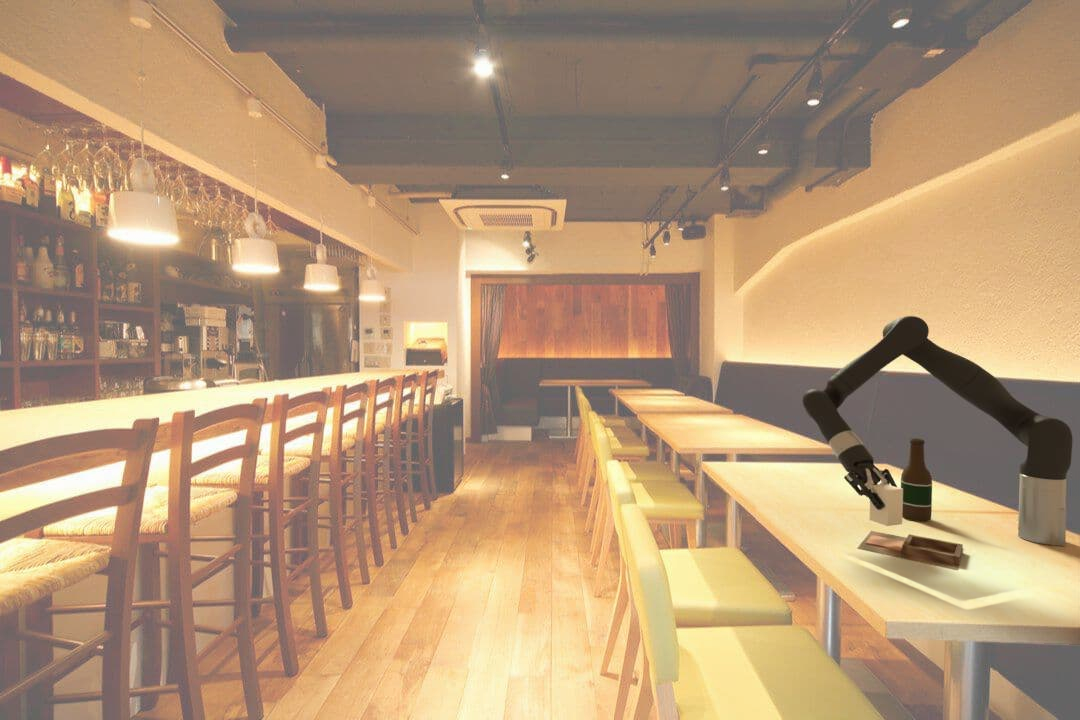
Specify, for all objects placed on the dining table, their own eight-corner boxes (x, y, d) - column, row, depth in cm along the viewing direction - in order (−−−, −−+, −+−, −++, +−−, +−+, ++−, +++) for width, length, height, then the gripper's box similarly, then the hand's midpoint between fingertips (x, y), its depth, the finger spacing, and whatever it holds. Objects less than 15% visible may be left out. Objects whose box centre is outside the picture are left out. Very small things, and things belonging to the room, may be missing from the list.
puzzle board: (963, 553, 137) (963, 540, 136) (957, 575, 123) (958, 561, 123) (871, 535, 150) (871, 523, 150) (856, 553, 136) (857, 540, 136)
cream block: (883, 518, 143) (884, 484, 143) (902, 524, 138) (903, 488, 138) (869, 519, 141) (870, 485, 141) (887, 526, 137) (888, 490, 136)
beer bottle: (930, 523, 160) (932, 442, 160) (899, 518, 165) (900, 439, 164) (931, 517, 166) (933, 438, 166) (901, 512, 171) (902, 436, 170)
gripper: (838, 444, 145) (879, 502, 134) (879, 442, 149) (921, 497, 138) (822, 460, 150) (859, 517, 139) (861, 457, 155) (900, 512, 143)
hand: (889, 507), depth 139 cm, fingers closed on cream block, 5 cm apart
